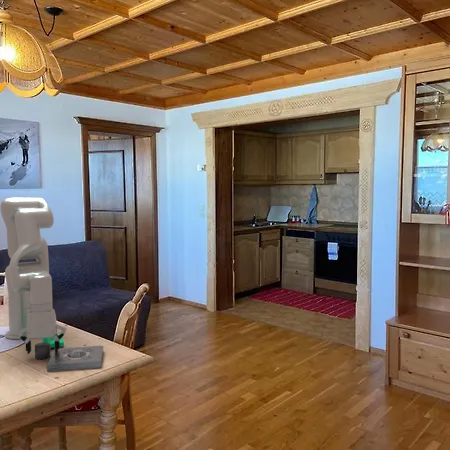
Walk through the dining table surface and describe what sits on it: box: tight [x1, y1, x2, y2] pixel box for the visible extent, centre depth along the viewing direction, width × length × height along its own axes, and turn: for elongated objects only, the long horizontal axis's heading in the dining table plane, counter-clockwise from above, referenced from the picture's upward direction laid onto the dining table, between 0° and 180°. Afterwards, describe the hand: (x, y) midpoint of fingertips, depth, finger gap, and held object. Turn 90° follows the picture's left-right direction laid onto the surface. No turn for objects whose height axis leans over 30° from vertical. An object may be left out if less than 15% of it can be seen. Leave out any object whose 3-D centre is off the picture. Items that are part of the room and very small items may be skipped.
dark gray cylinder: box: [34, 341, 51, 361], centre depth 167 cm, size 5×5×5 cm
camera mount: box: [41, 333, 65, 349], centre depth 181 cm, size 12×8×10 cm, turn 24°
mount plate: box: [46, 345, 104, 373], centre depth 164 cm, size 16×18×2 cm
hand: (43, 351), depth 167 cm, fingers open, 9 cm apart
